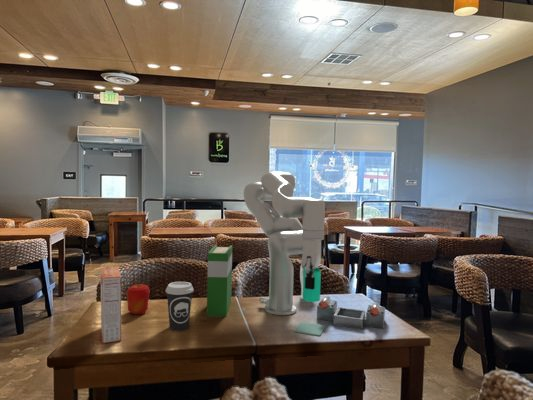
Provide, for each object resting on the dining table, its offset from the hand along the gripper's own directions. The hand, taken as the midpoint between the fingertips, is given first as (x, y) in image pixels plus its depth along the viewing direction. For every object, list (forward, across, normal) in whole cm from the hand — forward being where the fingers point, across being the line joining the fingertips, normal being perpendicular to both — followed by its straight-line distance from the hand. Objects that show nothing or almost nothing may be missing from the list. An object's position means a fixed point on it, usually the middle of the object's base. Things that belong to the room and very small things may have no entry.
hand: (311, 286), depth 134 cm
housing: (+15, -14, +12) cm, 24 cm away
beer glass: (+15, -35, -10) cm, 39 cm away
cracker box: (+15, +31, -60) cm, 69 cm away
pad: (+15, 0, 0) cm, 15 cm away
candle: (+5, 0, 0) cm, 5 cm away
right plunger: (+10, -11, +21) cm, 26 cm away
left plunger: (+10, -11, +3) cm, 15 cm away
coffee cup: (+15, +16, -43) cm, 48 cm away
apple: (+15, +10, -65) cm, 67 cm away
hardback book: (+15, -7, -39) cm, 42 cm away
